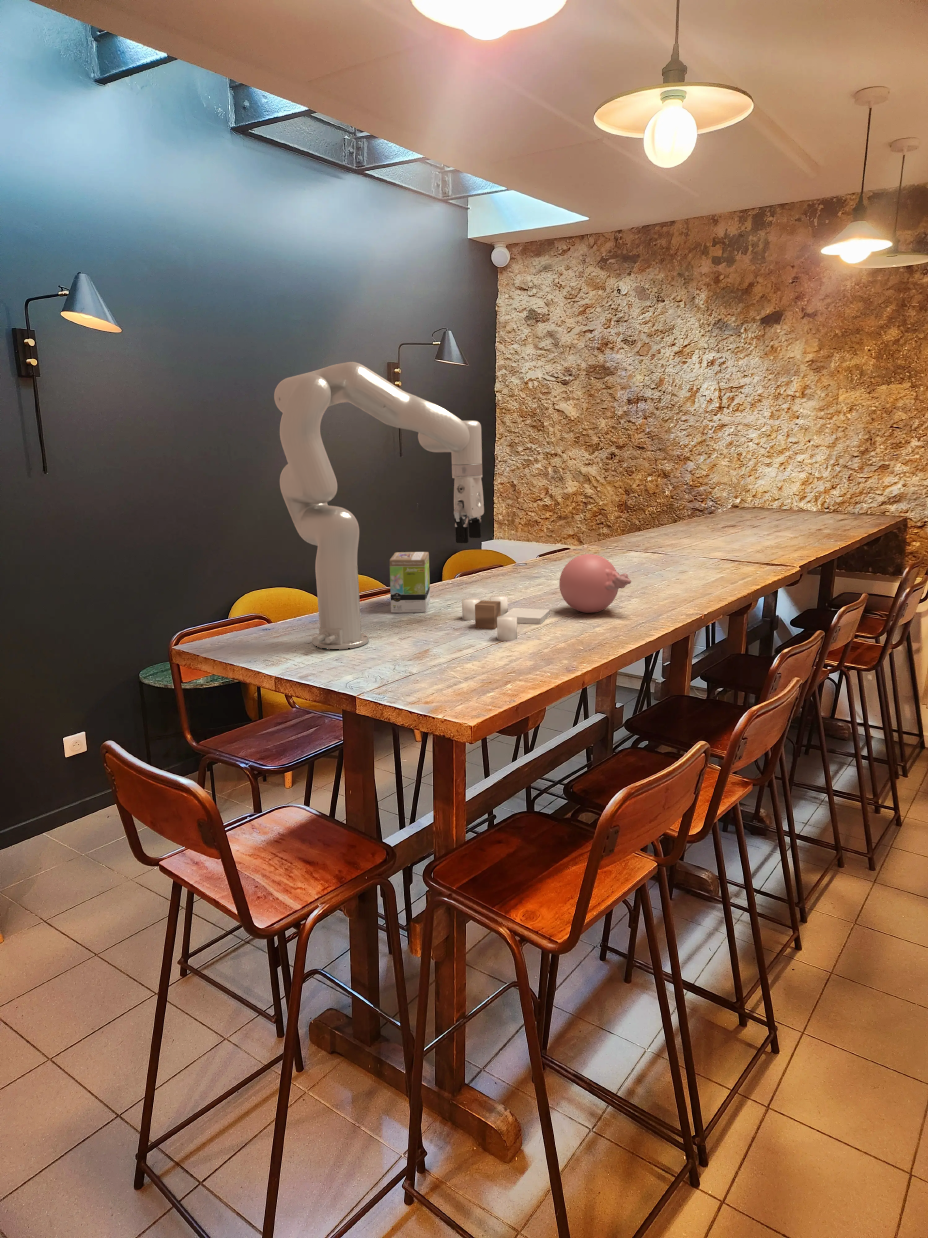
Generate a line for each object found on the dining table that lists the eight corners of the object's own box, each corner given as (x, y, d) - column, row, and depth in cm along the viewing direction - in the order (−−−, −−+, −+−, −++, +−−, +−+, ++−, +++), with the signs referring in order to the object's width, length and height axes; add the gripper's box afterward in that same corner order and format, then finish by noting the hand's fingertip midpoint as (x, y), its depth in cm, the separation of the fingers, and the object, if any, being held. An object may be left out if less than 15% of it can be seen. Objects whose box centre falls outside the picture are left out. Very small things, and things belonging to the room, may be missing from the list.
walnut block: (494, 629, 193) (494, 605, 192) (475, 628, 195) (474, 604, 193) (500, 624, 197) (500, 601, 196) (482, 623, 199) (481, 600, 198)
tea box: (427, 612, 213) (425, 558, 209) (390, 613, 213) (387, 559, 210) (430, 601, 227) (429, 550, 224) (396, 602, 228) (393, 551, 224)
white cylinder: (504, 617, 204) (504, 599, 203) (488, 617, 206) (487, 598, 205) (510, 614, 209) (509, 595, 207) (493, 613, 210) (493, 594, 209)
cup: (513, 641, 181) (513, 620, 180) (494, 640, 183) (494, 619, 182) (519, 636, 185) (519, 615, 184) (500, 635, 187) (500, 614, 186)
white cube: (476, 621, 202) (476, 601, 201) (459, 620, 203) (459, 601, 202) (482, 617, 206) (482, 598, 205) (465, 616, 208) (465, 597, 207)
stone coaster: (540, 624, 196) (540, 618, 196) (502, 622, 200) (501, 616, 200) (550, 615, 206) (550, 609, 205) (513, 613, 209) (513, 607, 209)
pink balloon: (611, 624, 194) (612, 562, 191) (547, 613, 208) (547, 555, 204) (645, 613, 205) (646, 554, 201) (582, 603, 219) (582, 548, 215)
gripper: (469, 473, 187) (471, 545, 191) (492, 469, 203) (493, 536, 207) (440, 473, 190) (442, 544, 194) (464, 469, 205) (466, 535, 209)
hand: (468, 540), depth 200 cm, fingers open, 9 cm apart
